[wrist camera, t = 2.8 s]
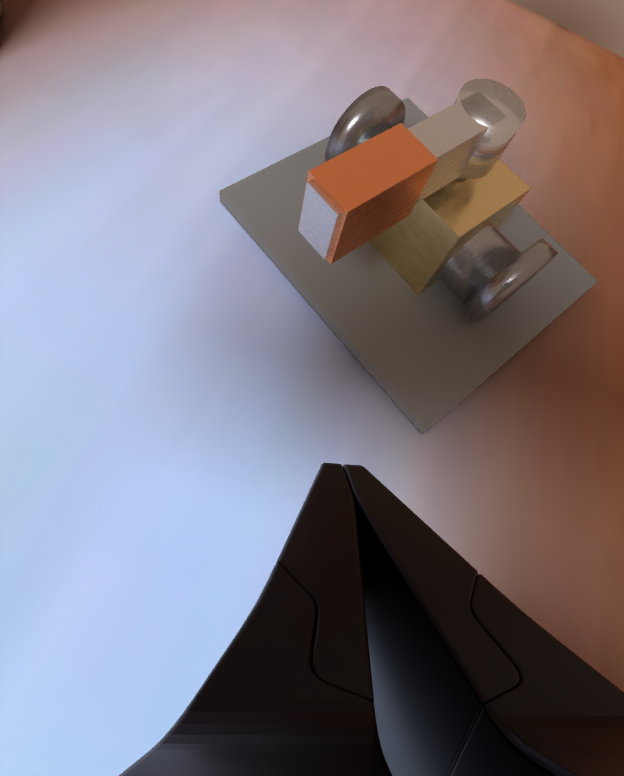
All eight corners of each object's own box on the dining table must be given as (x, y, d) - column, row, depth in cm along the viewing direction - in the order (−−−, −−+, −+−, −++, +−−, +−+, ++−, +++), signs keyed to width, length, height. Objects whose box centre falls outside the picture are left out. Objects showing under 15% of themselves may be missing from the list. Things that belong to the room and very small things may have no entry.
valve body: (518, 291, 24) (594, 221, 19) (458, 338, 23) (524, 277, 17) (379, 151, 26) (414, 53, 21) (315, 185, 25) (335, 88, 20)
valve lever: (460, 126, 20) (492, 65, 18) (502, 166, 20) (542, 109, 17) (288, 223, 17) (296, 164, 14) (333, 274, 16) (351, 223, 14)
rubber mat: (587, 288, 26) (597, 281, 26) (421, 434, 22) (428, 430, 21) (403, 108, 29) (407, 97, 28) (220, 201, 24) (219, 190, 24)
